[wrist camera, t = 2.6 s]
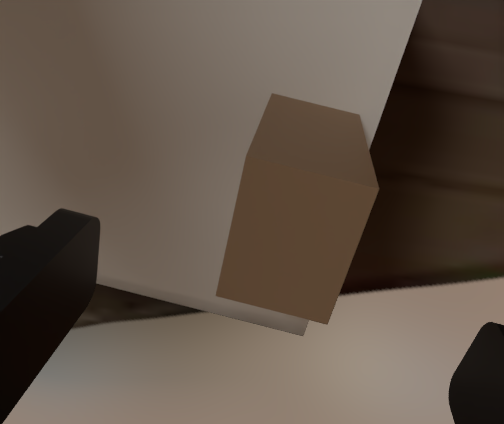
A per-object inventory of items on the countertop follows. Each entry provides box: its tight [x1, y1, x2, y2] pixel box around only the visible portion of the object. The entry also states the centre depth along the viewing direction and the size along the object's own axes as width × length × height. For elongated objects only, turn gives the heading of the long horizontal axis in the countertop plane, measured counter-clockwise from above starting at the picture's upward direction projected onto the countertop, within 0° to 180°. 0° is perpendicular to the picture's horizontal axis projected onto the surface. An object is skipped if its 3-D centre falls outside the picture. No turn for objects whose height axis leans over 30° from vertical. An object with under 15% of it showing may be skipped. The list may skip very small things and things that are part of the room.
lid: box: [0, 0, 422, 336], centre depth 15 cm, size 16×16×8 cm
